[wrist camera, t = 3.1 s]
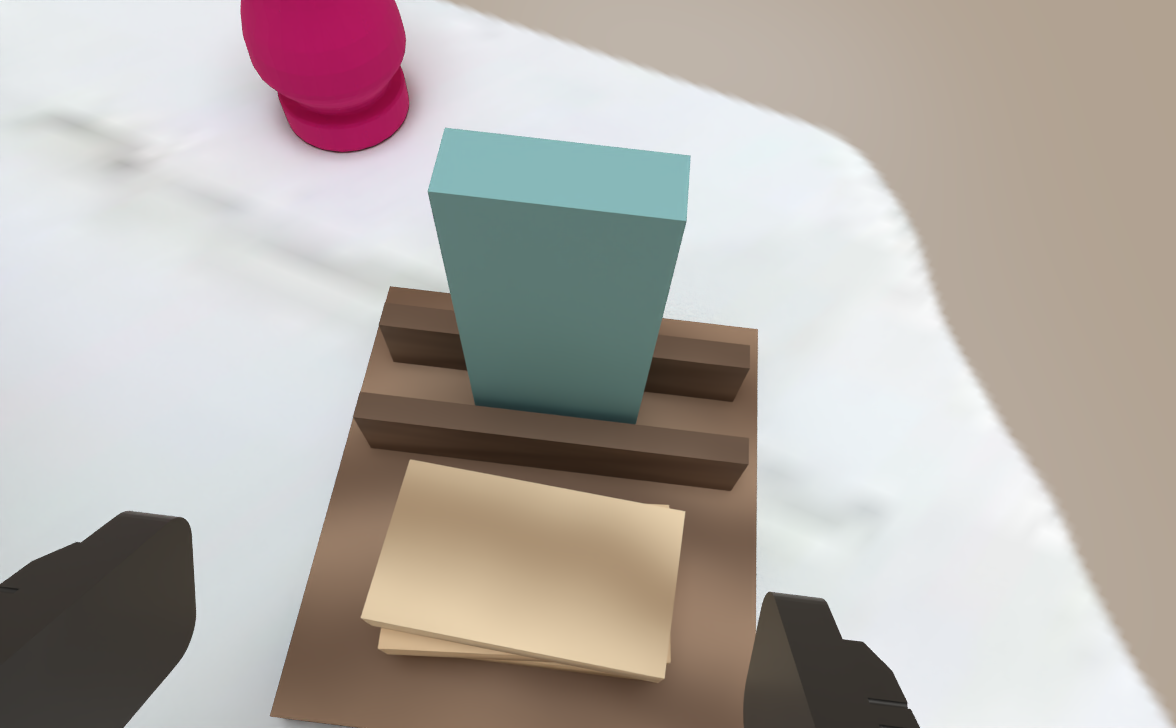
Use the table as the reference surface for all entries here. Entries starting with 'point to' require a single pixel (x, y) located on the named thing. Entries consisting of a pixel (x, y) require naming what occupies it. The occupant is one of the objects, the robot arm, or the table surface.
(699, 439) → the rack
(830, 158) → the table surface
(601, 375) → the teal rectangular block
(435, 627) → the offcut top
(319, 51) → the pepper mill
